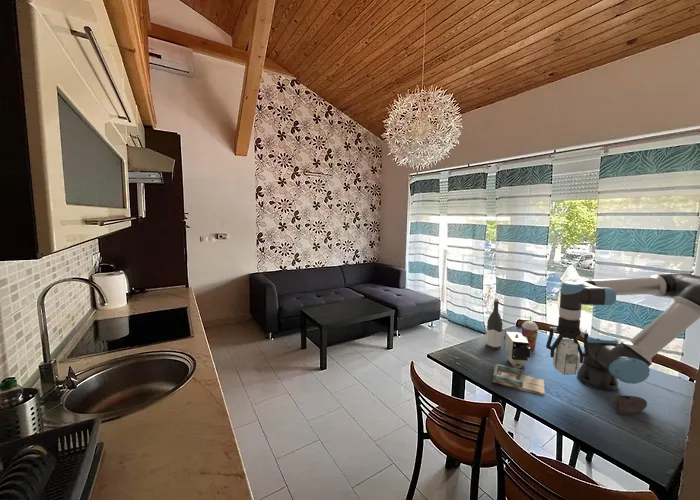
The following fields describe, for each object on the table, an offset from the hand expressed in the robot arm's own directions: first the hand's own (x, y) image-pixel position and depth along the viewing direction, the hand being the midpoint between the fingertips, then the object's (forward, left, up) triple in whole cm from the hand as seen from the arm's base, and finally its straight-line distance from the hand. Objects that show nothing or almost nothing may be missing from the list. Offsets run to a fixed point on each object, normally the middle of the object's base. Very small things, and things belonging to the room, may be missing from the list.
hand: (565, 366), depth 132 cm
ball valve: (+19, -18, -14) cm, 30 cm away
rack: (+17, -1, -14) cm, 22 cm away
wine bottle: (+32, -36, -14) cm, 50 cm away
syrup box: (0, 0, -3) cm, 2 cm away
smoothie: (+14, -44, -14) cm, 48 cm away
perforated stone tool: (-23, -1, -14) cm, 26 cm away
